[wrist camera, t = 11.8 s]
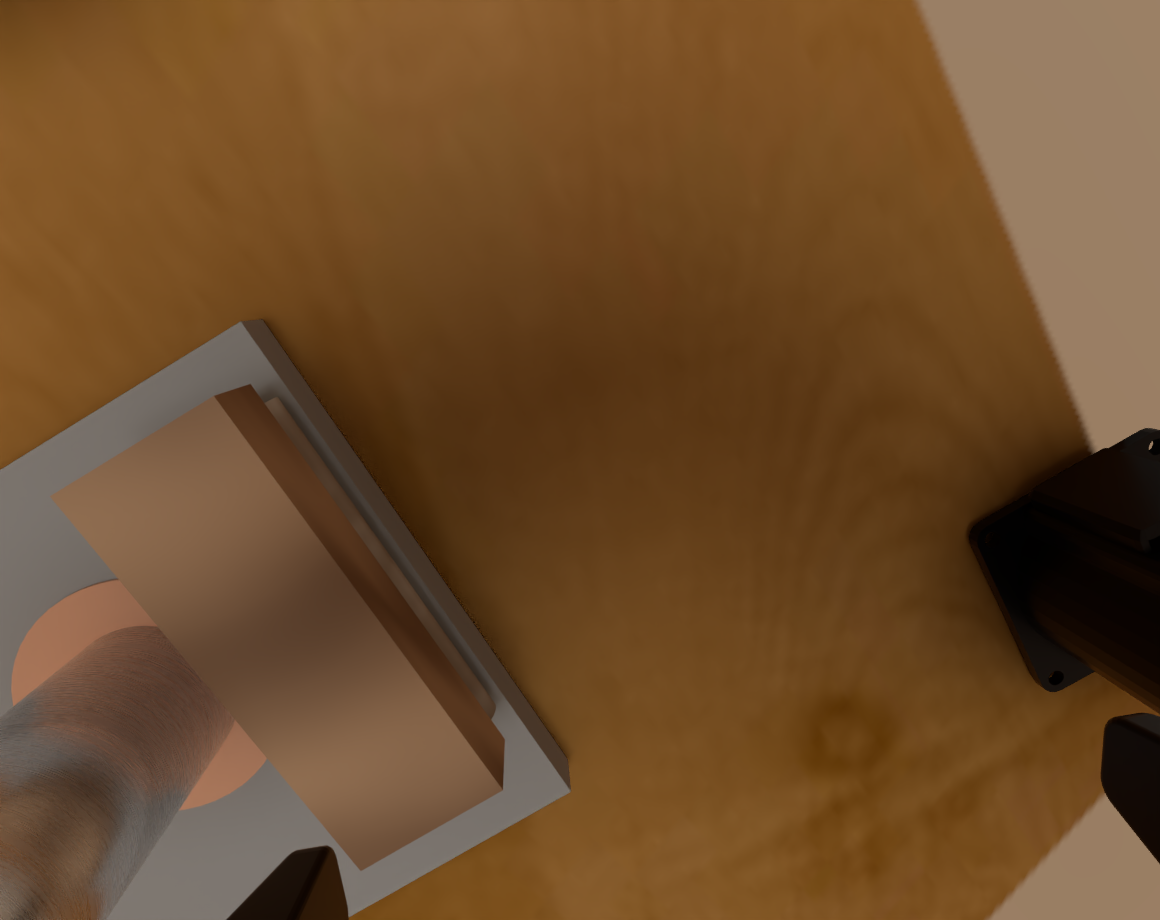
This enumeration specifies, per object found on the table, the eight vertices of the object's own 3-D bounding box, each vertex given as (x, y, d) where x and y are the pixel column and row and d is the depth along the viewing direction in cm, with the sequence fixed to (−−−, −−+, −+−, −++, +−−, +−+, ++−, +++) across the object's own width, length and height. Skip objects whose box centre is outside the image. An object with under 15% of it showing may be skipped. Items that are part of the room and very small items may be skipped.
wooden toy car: (506, 705, 20) (503, 790, 17) (388, 773, 21) (360, 870, 17) (274, 375, 18) (213, 395, 14) (141, 457, 18) (50, 496, 14)
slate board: (567, 759, 23) (571, 796, 21) (176, 982, 23) (149, 1034, 22) (262, 319, 19) (237, 321, 17) (-194, 600, 20) (-259, 628, 18)
